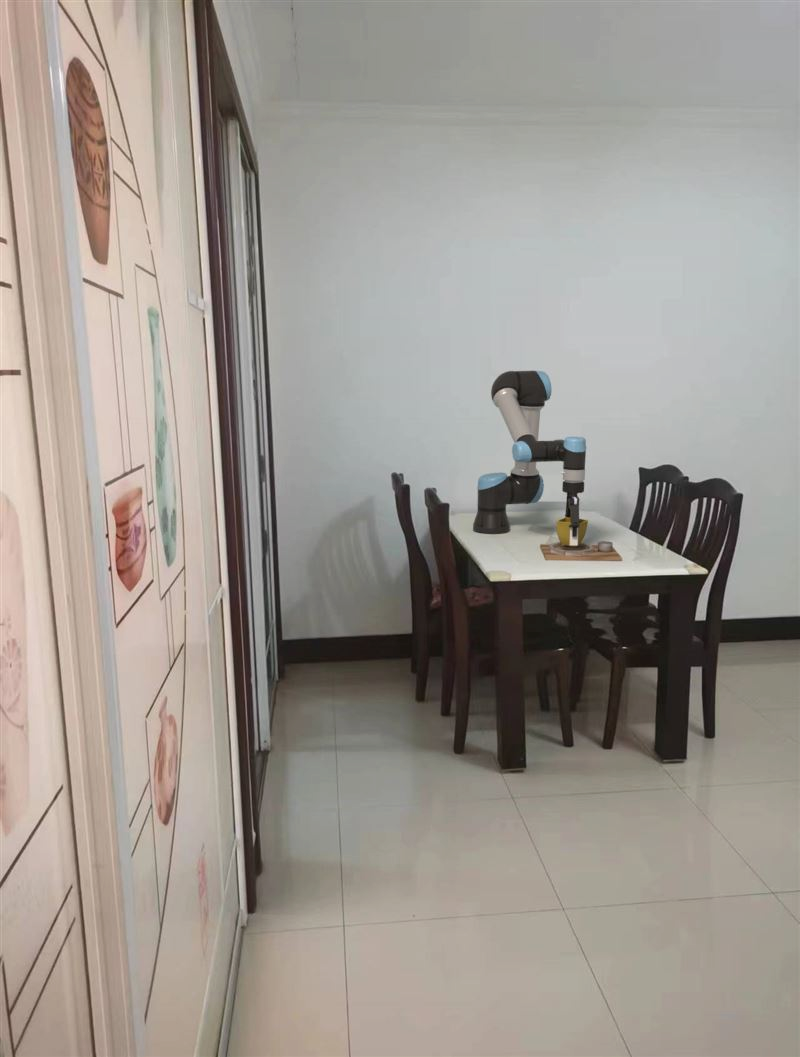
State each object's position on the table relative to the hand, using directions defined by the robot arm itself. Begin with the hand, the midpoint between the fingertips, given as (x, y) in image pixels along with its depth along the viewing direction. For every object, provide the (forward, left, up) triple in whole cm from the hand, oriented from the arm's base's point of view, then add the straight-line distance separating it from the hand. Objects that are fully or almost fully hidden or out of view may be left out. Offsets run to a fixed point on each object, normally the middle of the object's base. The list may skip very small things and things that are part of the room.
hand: (571, 541), depth 285 cm
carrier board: (0, +3, -4) cm, 5 cm away
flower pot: (0, 0, -1) cm, 1 cm away
